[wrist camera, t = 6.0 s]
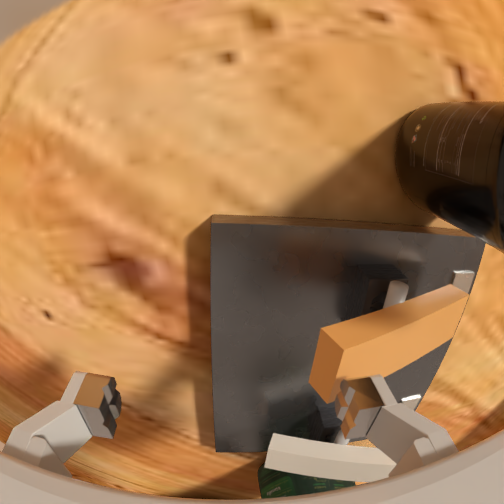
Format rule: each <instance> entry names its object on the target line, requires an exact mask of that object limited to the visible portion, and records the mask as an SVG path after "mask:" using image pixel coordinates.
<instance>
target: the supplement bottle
mask: <svg viewBox="0 0 504 504" xmlns="http://www.w3.org/2000/svg"><path fill="white" fill-rule="evenodd" d="M395 161H396V169H397V174H398V177H399V180H400V183H401V185H402V187H403V189H404V191H405V193H406V194H407V195H408V197H409V198H410V199H411V200H412V201H413V203H415V204H416V205H417V206H418V207H420V208H421V209H423V210H425V211H427V212H429V213H431V214H432V215H434V216H436V217H438V218H440V219H442V220H444V221H446V222H448V223H450V224H452V225H454V226H456V227H458V228H460V229H462V230H463V231H465V232H467V233H469V234H471V235H473V236H475V237H476V238H478V239H480V240H482V241H483V242H485V243H487V244H489V245H490V246H492V247H494V248H496V249H497V250H499V251H501V252H502V253H504V102H449V103H435V104H429V105H425V106H422V107H420V108H418V109H417V110H415V111H414V112H413V113H412V114H411V115H410V116H409V117H408V118H407V119H406V121H405V122H404V124H403V126H402V128H401V130H400V132H399V135H398V139H397V143H396V151H395Z"/></svg>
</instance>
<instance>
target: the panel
mask: <svg viewBox="0 0 504 504" xmlns="http://www.w3.org/2000/svg"><path fill="white" fill-rule="evenodd" d="M485 244H486V243H485V242H483V241H482V240H480V239H478V238H476V237H475V236H473V235H471V234H469V233H467V232H465V231H463V230H457V229H447V228H436V227H425V226H413V225H401V224H388V223H375V222H361V221H345V220H329V219H310V218H290V217H268V216H240V215H212V221H211V351H212V384H213V409H214V429H215V447H216V452H265V451H268V448H269V445H270V442H271V438H272V435H273V433H276V434H281V435H286V436H291V437H296V438H302V439H308V440H314V441H320V442H327V443H334V441H335V439H336V436H337V434H338V432H339V431H340V430H341V427H340V426H341V424H342V420H340V419H339V418H337V415H336V412H335V401H333V402H331V403H328V404H327V403H326V402H325V401H324V400H323V399H322V398H321V396H320V395H319V394H318V393H317V392H316V391H315V389H314V388H313V387H312V386H311V385H310V383H309V382H308V381H309V377H310V373H311V369H312V365H313V361H314V356H315V352H316V348H317V343H318V339H319V334H320V329H321V328H323V327H326V326H330V325H333V324H336V323H340V322H343V321H346V320H350V319H353V318H356V317H359V316H362V315H366V314H369V313H372V312H375V311H378V310H381V309H383V306H384V303H385V299H386V295H387V292H388V288H389V284H390V282H391V281H401V282H404V283H406V284H407V285H408V286H409V289H408V293H407V296H406V299H405V301H407V300H410V299H412V298H415V297H418V296H420V295H423V294H426V293H428V292H431V291H434V290H436V289H439V288H441V287H444V286H446V285H449V284H452V285H453V286H455V287H457V288H459V289H460V290H462V291H464V292H466V293H467V294H469V296H470V293H471V290H472V287H473V284H474V281H475V278H476V275H477V271H478V268H479V265H480V262H481V258H482V255H483V251H484V247H485ZM468 298H469V297H468ZM467 301H468V300H467ZM466 304H467V303H466ZM465 306H466V305H465ZM464 309H465V308H464ZM463 312H464V311H463ZM462 314H463V313H462ZM461 317H462V316H461ZM460 319H461V318H460ZM459 322H460V321H459ZM458 324H459V323H458ZM457 327H458V326H457ZM456 329H457V328H456ZM454 334H455V333H454ZM453 336H454V335H453ZM451 341H452V338H451V339H450V340H448V341H446V342H445V343H443V344H442V345H440V346H439V347H437V348H435V349H434V350H432V351H430V352H429V353H427V354H425V355H424V356H422V357H420V358H419V359H417V360H415V361H413V362H412V363H410V364H408V365H406V366H405V367H403V368H401V369H399V370H397V371H395V372H394V373H392V374H390V375H388V376H386V377H384V380H385V382H386V383H387V385H388V387H389V389H390V391H391V392H392V394H393V396H394V398H395V400H396V401H397V403H402V404H404V405H405V406H407V407H409V408H410V409H412V410H414V411H415V410H416V409H417V407H418V405H419V403H420V402H421V400H422V398H423V396H424V395H425V393H426V391H427V389H428V387H429V386H430V384H431V382H432V380H433V378H434V376H435V374H436V372H437V370H438V368H439V366H440V364H441V362H442V360H443V358H444V356H445V354H446V352H447V350H448V347H449V345H450V343H451ZM365 439H367V438H366V436H365V437H359V438H353V439H350V440H349V442H354V441H360V440H365Z"/></svg>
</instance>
